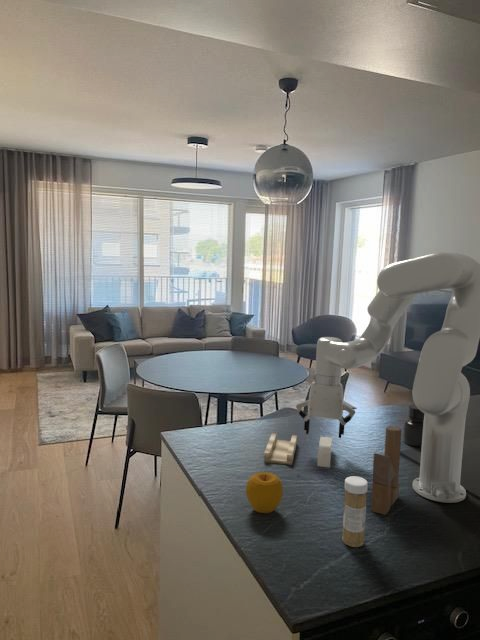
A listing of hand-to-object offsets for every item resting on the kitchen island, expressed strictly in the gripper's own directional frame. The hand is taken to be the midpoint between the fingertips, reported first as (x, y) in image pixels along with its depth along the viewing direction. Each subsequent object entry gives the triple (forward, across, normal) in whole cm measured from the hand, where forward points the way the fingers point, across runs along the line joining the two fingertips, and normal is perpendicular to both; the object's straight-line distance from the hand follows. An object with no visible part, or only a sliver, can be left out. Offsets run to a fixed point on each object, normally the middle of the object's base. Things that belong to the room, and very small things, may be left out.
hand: (323, 434), depth 145 cm
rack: (+6, -12, -2) cm, 14 cm away
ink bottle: (+6, +30, +16) cm, 35 cm away
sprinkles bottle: (+5, +8, -46) cm, 46 cm away
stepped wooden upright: (+5, +16, -28) cm, 32 cm away
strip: (+6, +1, -4) cm, 7 cm away
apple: (+6, -12, -38) cm, 40 cm away
